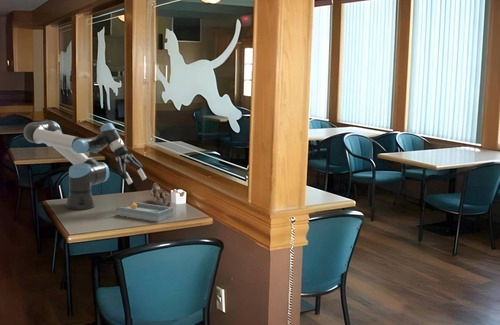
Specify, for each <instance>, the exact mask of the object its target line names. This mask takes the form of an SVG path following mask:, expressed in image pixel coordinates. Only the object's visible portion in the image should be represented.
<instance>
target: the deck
mask: <svg viewBox="0 0 500 325" xmlns="http://www.w3.org/2000/svg"><path fill="white" fill-rule="evenodd" d="M132 203H136V204H137V208H136V209H132V208H131V204H132ZM173 210H174V208H173V207H172V206H171V207H170V206H169V207H165V205H159V206H158V205H156V204H151V203H150V204H149V203H143V202H136V201H131V202H130V205H129V206H125V207H124V206H123V207H122V206H116V216H118V215H120V217H125V216H126V218H132V219H139V220H145V221H151V222H156V223H159V222H162V221H164V220H166V219H169V218H171V217H173V215H174V214H173V213H174V211H173Z"/></svg>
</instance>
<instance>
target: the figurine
mask: <svg viewBox="0 0 500 325" xmlns="http://www.w3.org/2000/svg"><path fill="white" fill-rule="evenodd" d="M169 195H170V194H169V192H166V190H165V188H164V187H162V189H161V187H160V186H159V184H158V183H157V182H154V183H153V184H152V188H151V190H150V196H153V197H154V198H156V201H155V200H153V204H152V205H158V206H160V201H161V200H160V199H162V203H163V206H165V207H170V205H171V203H170V201H168V202H167V197H169ZM166 196H167V197H166ZM154 202H155V203H154Z"/></svg>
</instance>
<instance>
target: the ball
mask: <svg viewBox="0 0 500 325" xmlns="http://www.w3.org/2000/svg"><path fill="white" fill-rule="evenodd" d="M130 206H131V208H132V209H136V208H137V204H136V203H132V204H131V203H130Z"/></svg>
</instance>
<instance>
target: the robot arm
mask: <svg viewBox="0 0 500 325" xmlns="http://www.w3.org/2000/svg"><path fill="white" fill-rule="evenodd" d="M99 130H100V132H99V134H98V135H96V136H94V137H93V136H91V137H87V138H85V137H84V138H83V137H78V136H74V135H70V134H65V133H63V131H62V128H61V127H60V124H59V123H57V122H56V121H53V120H43V121H33V122H30V123H28V124H27V125H26V126H24V129H23V136H24V139H26V140H27V141H28V143H29V142H30V143H33V144H38V145H39V144H45V145H46V146H47V147H52V148H53V149H54V150H56V151H57V152H58V153H59V154H60V155H62V157H64V158H65V159H66V160H68V162H70V163H71V164H72V165H71V166H70V167H68V168H69V169H68V187H69V188H68V189H69V190H68V191H69V194H68V197H67V200H66V202H65V207H66V208H67V209H69V210H75V211H76V210H79V211H80V210H90V209H93V208H94V207H95V204H96V203H95V200H94V198H93V194H92V186H96V185H98V184H102V183H104V182H106V181H108V179H109V178H110V169H109V166H108V165H107V164H106V163H105V162H102V161H97V160H96V159H95V158H94V157H89V156H87V155H86V154H85V153H89V152H91V153H93V154H97V153H99V152H101V151H102V150H103V149H104V148H105V147H107V146H108V145H109V148H110V150H111V151H112V152H113V154H114V156H115V158H114V160H115V163H116V168H117V173H118V174H119V175H120V176H123V178H124V180H125V181H126V182H127V185H131V184H133V180H132V178H131V177H130V175H129V173H128V172H127V171H126V170H127V169H126V167H127V166H126V164H129V165H131V166H132V167H133V168H135V169H136V170H137V171H136V172H137V173H138V175H139V176H140V178H141V180H142V181H144V180H146V179H147V176H146V174H145V172H144V170H143V169H142V168H143V167H144V165H143V164H142V163H141V162H140V161H139V160H138V159H137V158H136V157H135V156H134V154H133V153H130V154H128V153H129V149H128V147H127V146H126V145H125V143H124V141H123V140H122V138H121V136H120V135H119V133H118V131H117V129H116V127H115V126H114V124H113V122H112V123H111V122H106V123H104V124H103V125H102V126H101V127H100V128H99Z"/></svg>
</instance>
